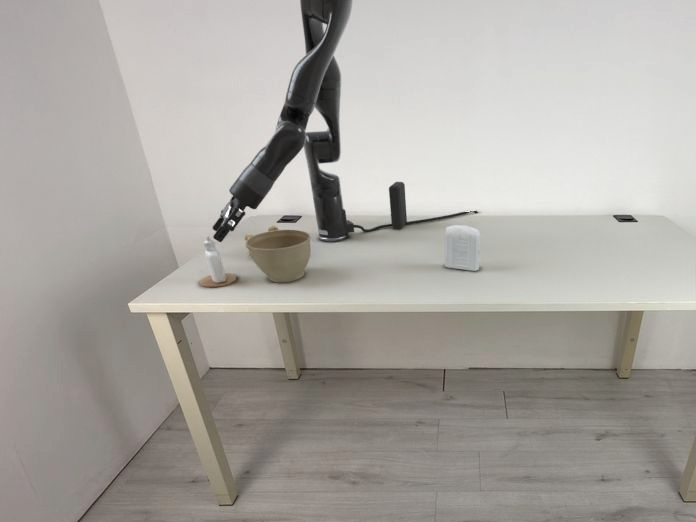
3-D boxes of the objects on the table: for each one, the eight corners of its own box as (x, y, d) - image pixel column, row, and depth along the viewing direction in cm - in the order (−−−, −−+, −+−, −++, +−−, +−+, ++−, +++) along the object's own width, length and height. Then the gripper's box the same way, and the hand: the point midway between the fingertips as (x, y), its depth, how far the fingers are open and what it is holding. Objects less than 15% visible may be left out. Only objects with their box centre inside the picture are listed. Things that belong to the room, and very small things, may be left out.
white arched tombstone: (481, 267, 138) (482, 225, 131) (477, 272, 134) (477, 229, 128) (448, 263, 140) (447, 222, 134) (443, 268, 137) (442, 226, 130)
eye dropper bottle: (231, 275, 131) (219, 233, 124) (224, 283, 126) (212, 239, 120) (214, 276, 130) (202, 233, 124) (207, 284, 125) (194, 240, 119)
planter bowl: (254, 270, 135) (245, 233, 129) (312, 263, 140) (305, 227, 135) (256, 292, 122) (246, 251, 116) (320, 282, 127) (313, 243, 122)
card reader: (397, 222, 177) (394, 181, 169) (407, 222, 177) (405, 181, 169) (390, 229, 169) (387, 186, 162) (401, 230, 169) (398, 186, 161)
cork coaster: (235, 272, 133) (234, 271, 133) (237, 283, 127) (237, 282, 126) (200, 278, 130) (199, 276, 130) (200, 289, 123) (200, 288, 123)
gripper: (268, 201, 119) (231, 251, 120) (262, 190, 130) (228, 236, 131) (241, 181, 114) (202, 234, 116) (237, 171, 125) (201, 219, 127)
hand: (216, 235), depth 123 cm, fingers open, 8 cm apart
